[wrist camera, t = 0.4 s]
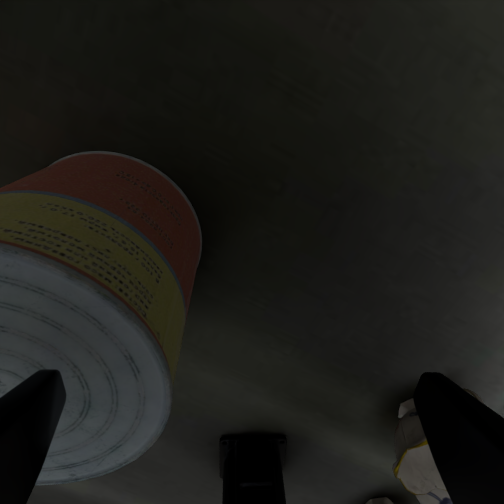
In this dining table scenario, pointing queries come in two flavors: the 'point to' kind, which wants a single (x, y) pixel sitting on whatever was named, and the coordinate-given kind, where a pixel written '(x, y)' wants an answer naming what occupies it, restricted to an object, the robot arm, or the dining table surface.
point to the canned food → (97, 301)
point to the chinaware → (416, 459)
